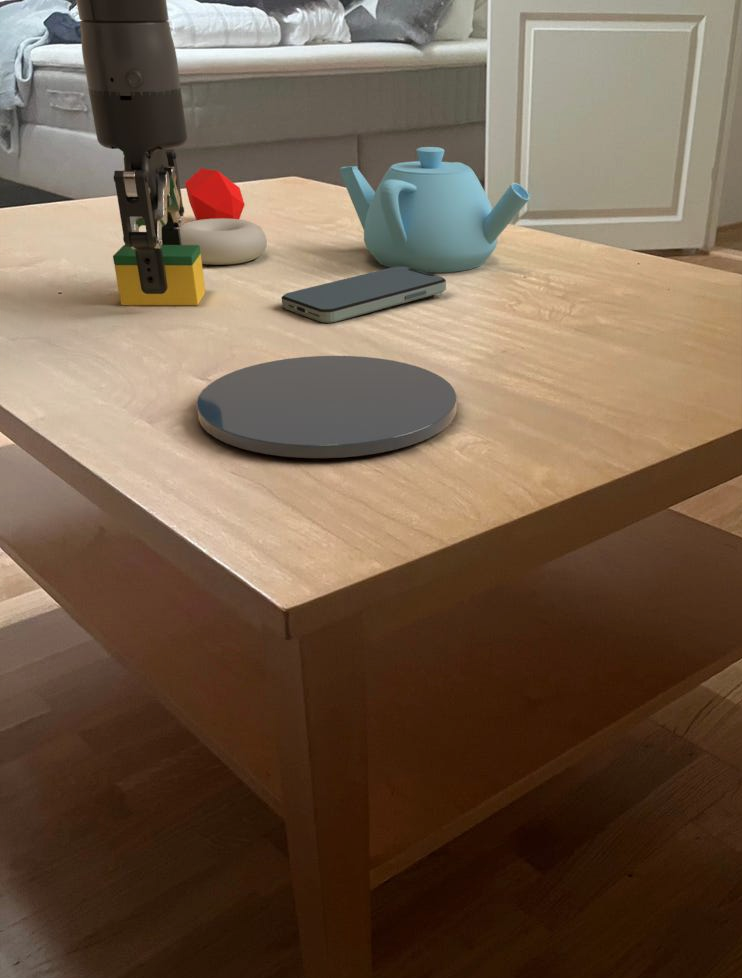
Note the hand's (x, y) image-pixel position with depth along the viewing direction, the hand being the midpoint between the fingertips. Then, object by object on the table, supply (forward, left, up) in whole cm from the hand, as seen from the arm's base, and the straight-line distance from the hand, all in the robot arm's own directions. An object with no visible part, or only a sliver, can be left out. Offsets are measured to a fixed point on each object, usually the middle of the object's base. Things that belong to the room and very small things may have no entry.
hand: (164, 280), depth 94 cm
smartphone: (+19, -1, -2) cm, 19 cm away
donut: (+3, +17, -2) cm, 17 cm away
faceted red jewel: (0, +35, -2) cm, 35 cm away
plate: (+17, -30, -2) cm, 34 cm away
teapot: (+26, +16, -2) cm, 30 cm away
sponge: (0, 0, -2) cm, 2 cm away
